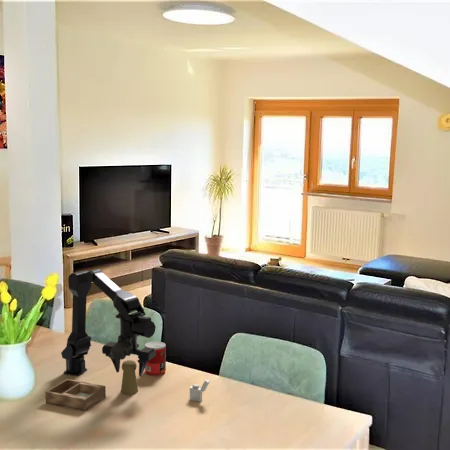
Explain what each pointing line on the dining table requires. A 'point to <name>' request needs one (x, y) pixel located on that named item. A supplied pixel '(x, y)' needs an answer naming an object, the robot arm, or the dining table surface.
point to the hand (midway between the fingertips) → (129, 374)
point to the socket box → (75, 394)
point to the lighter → (198, 391)
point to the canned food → (156, 359)
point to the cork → (129, 378)
